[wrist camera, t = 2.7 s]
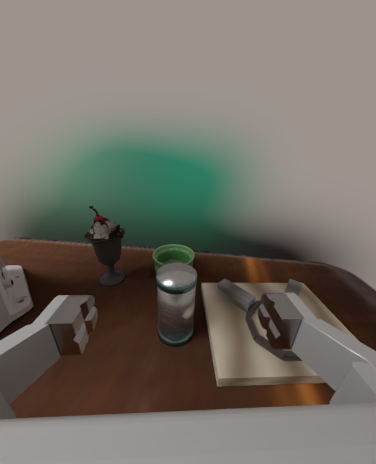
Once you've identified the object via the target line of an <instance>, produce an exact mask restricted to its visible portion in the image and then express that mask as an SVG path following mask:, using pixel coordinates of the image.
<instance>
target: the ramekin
mask: <svg viewBox="0 0 376 464" xmlns="http://www.w3.org/2000/svg"><path fill="white" fill-rule="evenodd" d="M152 257H153V261H154V267H155V273H156V272H157V270H158V269H159V268H160V267H161V266H163V265H165V264H168V263H174V262H180V263H185V264H188V265H190V266H193V261H194V258H195V254H194V252H193V250H191V249H190V248H188V247H186V246H183V245H175V244H170V245H165V246H161V247H159V248H157V249H156V250H155V251H154V252H153V255H152Z"/></svg>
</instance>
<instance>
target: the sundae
mask: <svg viewBox="0 0 376 464" xmlns="http://www.w3.org/2000/svg"><path fill="white" fill-rule="evenodd" d="M89 208H91V209H92V208H93V206H90V207H89ZM93 210H94V211H95V212H96V218H94V219H93V221H94V224H93V225H92V226H91V229H90V232H88V233H86V235H85V238H87V239H88V240H89V241H90V242H91V243H92V245H93V247H94V250H95V253H96V256H97V258H98V260H99V262H101V263H102V264H105V265H107V266H108V272H107V273H105V274H103V275H102V276H101V277H100V279H99V282H100V283H101V284H102V285H104V286H113V285H117V284H119V283H121V282H122V281H123V280H124V279H125V273H124V272H122V271H119V270H115V269H114V264H115V263H116V262H117V261H118V260H119V259H120V255H121V238H122V237H123V236H124V234H125V230H124V229H123V228H120V225H117V226H115V225H114V222H113V221H111V220H110V219H107V218H103V217H102V216H99V214H98V212H97V211H96V210H95V209H93Z"/></svg>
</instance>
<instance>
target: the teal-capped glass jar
mask: <svg viewBox="0 0 376 464" xmlns="http://www.w3.org/2000/svg"><path fill="white" fill-rule="evenodd" d="M156 284H157V299H158V335H159V338H160V340H161V341H162V342H163V343H164V344H166V345H168V346H172V347H179V346H182V345H184V344H186V343H187V342H189V340H190V339H191V338H192V335H193V329H194V323H193V320H194V305H195V291H196V284H197V271H196V270H195V269H194V268H193V267H192V266H190V265H188V264H185V263H180V262H174V263H168V264H165V265H163V266H161V267H160V268H159V269H158V270H157V272H156Z"/></svg>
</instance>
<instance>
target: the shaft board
mask: <svg viewBox="0 0 376 464" xmlns="http://www.w3.org/2000/svg"><path fill="white" fill-rule="evenodd" d="M201 291H202V298H203V304H204V310H205V316H206V322H207V328H208V334H209V340H210V346H211V352H212V358H213V364H214V370H215V376H216V383H217V387H219V386H249V385H279V384H309V383H326V382H325V381H324V380H323V379H322V378H321V377H320V376H319V375H317V374H316V373H315V372H314V371H313V370H312V369H311V368H310V367H309V366H308V365H307V364H306V363H304V362H303V361H302V360H301V359H300V358H299V357H298V356H297V355H296V354H295V353H294V352H293V351H292V350H291V349H272V347H271V345H270V343H269V341H268V339H267V337H266V334H267V331H266V330H265V329H264V328H263V327H262V326H261V324H260V321H259V318H258V309H259V306H260V305H261V304H262V301H261V296H262V294H263V293H295V294H296V295H297V296H298V297H299V298H300V299H301V300H302V302H303V303H304V304H305V305H306V306H307V307H308V309H309V310H310V311H311V312H312V313H313V315H314V316H315V317H316V318H317V319H321V320H323V321H325V322H326V323H328V324H330V325H332V326H333V327H335V328H337V329H338V330H340V331H342V332H344V333H345V334H347V335H349V336H350V337H352V338H354V339H356V338H355V337H354V336H353V335H352V334H351V333H350V332H349V331H348V329H347V328H346V327H345V326H344V325H343V324H342V323H341V322H340V321H339V320H338V319H337V318H336V317H335V316H334V315H333V314H332V313H331V312H330V311H329V310H328V309H327V307H326V306H325V305H324V304H323V303H322V302H321V301H320V300H319V299H318V298H317V297H316V296H315V295H314V294H313V293H312V292H311V291H310V290H309V289H308V288H307V287H306V285H305V284H304V283H300V282H298V281H295V280H292V279H289V282H288V283H232V282H230V281H228V280H227V279H223V280H222V281H220V282H219V283H202V285H201ZM356 340H357V339H356ZM357 341H358V340H357Z"/></svg>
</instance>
